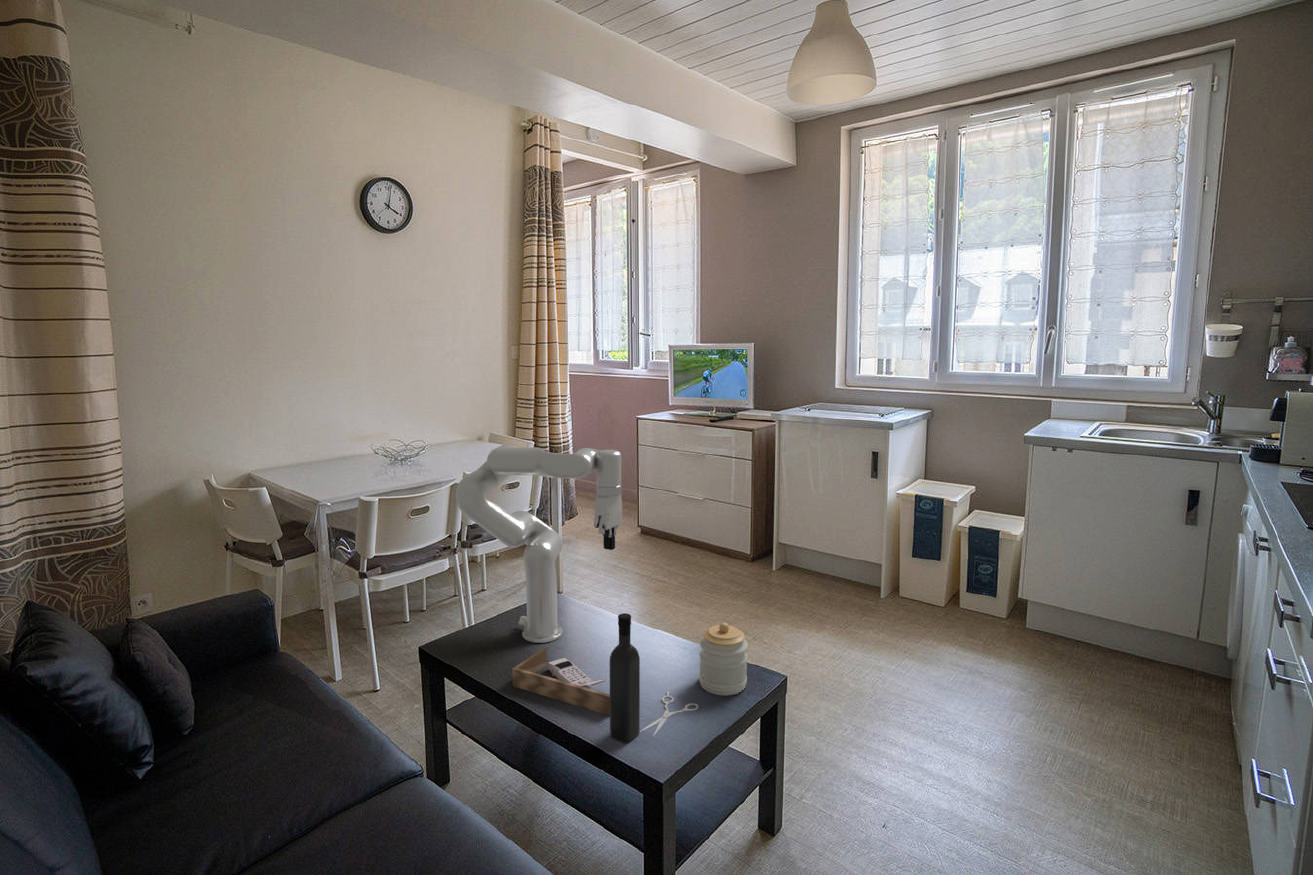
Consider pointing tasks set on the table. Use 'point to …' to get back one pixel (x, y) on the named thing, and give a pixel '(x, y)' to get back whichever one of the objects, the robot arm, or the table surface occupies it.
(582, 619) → the table surface
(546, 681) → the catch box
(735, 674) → the jar
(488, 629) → the table surface
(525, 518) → the robot arm
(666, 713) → the scissors
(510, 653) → the table surface
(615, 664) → the wine bottle
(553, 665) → the mobile phone
